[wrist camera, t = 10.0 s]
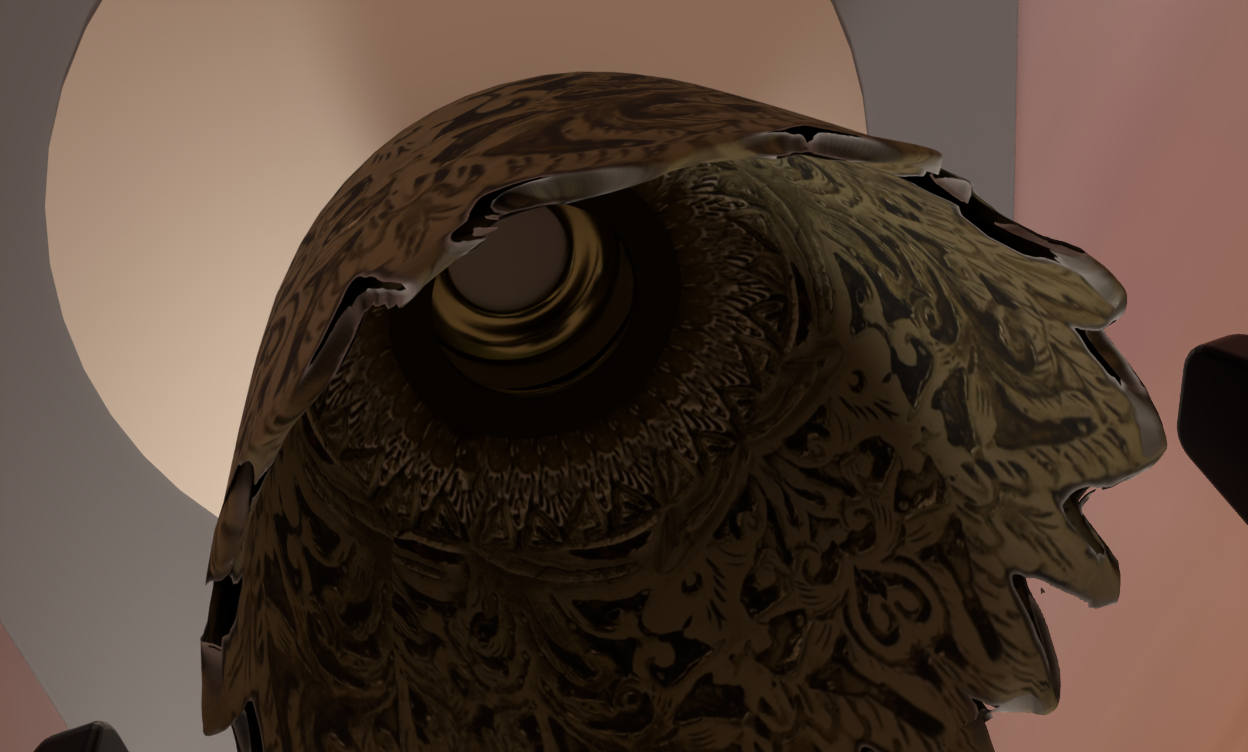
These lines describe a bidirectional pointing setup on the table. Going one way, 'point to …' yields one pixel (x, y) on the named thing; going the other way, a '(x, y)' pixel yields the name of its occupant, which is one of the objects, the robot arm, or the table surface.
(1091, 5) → the table surface
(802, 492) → the brown mottled round piece
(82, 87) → the board
